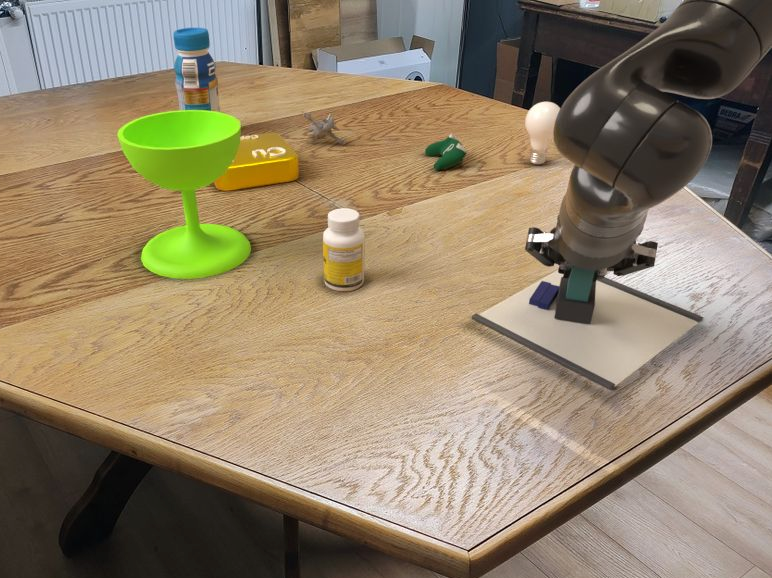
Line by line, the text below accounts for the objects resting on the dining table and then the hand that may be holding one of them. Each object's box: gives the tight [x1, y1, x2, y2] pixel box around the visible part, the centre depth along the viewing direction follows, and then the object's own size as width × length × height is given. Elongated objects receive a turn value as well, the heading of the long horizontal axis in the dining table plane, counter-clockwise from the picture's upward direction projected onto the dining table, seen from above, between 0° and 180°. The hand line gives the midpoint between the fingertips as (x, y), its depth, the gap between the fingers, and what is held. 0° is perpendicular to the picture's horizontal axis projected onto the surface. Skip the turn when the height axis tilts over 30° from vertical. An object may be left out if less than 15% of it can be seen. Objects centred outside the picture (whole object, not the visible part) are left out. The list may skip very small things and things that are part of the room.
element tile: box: [212, 132, 300, 192], centre depth 123 cm, size 15×15×5 cm
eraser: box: [554, 266, 596, 324], centre depth 80 cm, size 6×4×8 cm, turn 160°
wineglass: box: [117, 109, 252, 280], centre depth 94 cm, size 16×16×18 cm
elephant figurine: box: [303, 111, 346, 146], centre depth 135 cm, size 10×6×9 cm
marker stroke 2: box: [538, 284, 559, 310], centre depth 84 cm, size 5×1×1 cm, turn 148°
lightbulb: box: [524, 101, 561, 166], centre depth 120 cm, size 6×6×11 cm
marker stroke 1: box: [529, 281, 551, 306], centre depth 85 cm, size 5×1×1 cm, turn 148°
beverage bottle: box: [172, 27, 221, 112], centre depth 136 cm, size 8×8×20 cm
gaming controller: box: [424, 132, 468, 172], centre depth 125 cm, size 9×4×6 cm
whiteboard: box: [471, 269, 704, 391], centre depth 81 cm, size 20×18×2 cm
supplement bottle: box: [322, 207, 366, 292], centre depth 88 cm, size 5×5×10 cm
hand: (580, 272), depth 82 cm, fingers closed on eraser, 2 cm apart
